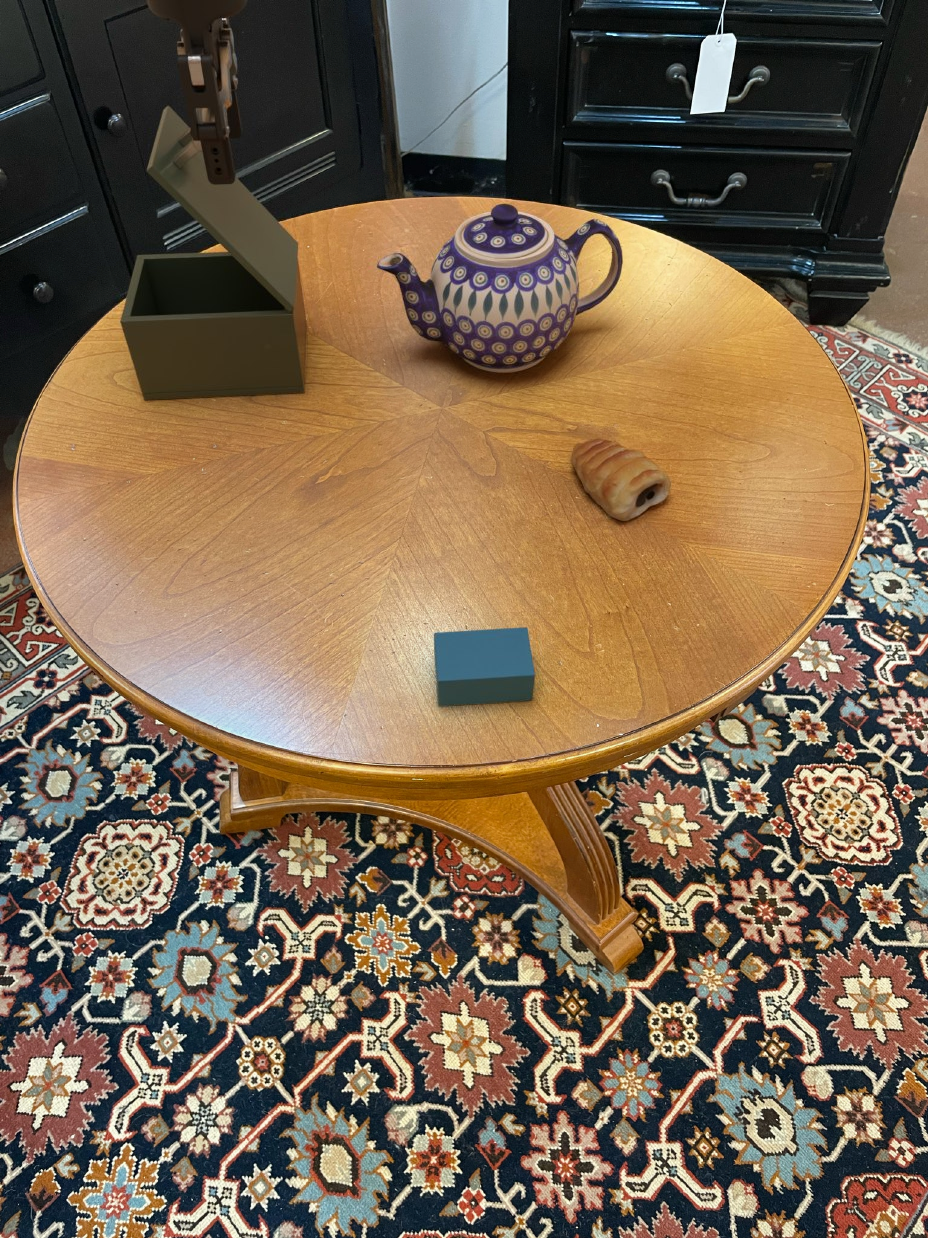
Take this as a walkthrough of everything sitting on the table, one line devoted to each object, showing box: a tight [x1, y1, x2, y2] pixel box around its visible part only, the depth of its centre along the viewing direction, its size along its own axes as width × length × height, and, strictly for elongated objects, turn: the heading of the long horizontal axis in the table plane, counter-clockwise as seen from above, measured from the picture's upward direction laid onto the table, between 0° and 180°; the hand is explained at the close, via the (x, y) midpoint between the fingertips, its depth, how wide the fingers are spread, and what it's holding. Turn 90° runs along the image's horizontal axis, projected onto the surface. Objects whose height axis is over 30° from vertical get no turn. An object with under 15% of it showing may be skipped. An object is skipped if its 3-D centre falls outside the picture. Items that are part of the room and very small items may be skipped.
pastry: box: [570, 437, 672, 522], centre depth 85 cm, size 9×7×4 cm
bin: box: [120, 251, 308, 401], centre depth 94 cm, size 16×12×9 cm
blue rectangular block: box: [433, 626, 536, 707], centre depth 71 cm, size 7×4×3 cm, turn 95°
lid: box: [146, 105, 299, 312], centre depth 85 cm, size 16×12×5 cm
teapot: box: [376, 203, 624, 374], centre depth 94 cm, size 25×15×15 cm, turn 103°
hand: (226, 158), depth 82 cm, fingers open, 8 cm apart
